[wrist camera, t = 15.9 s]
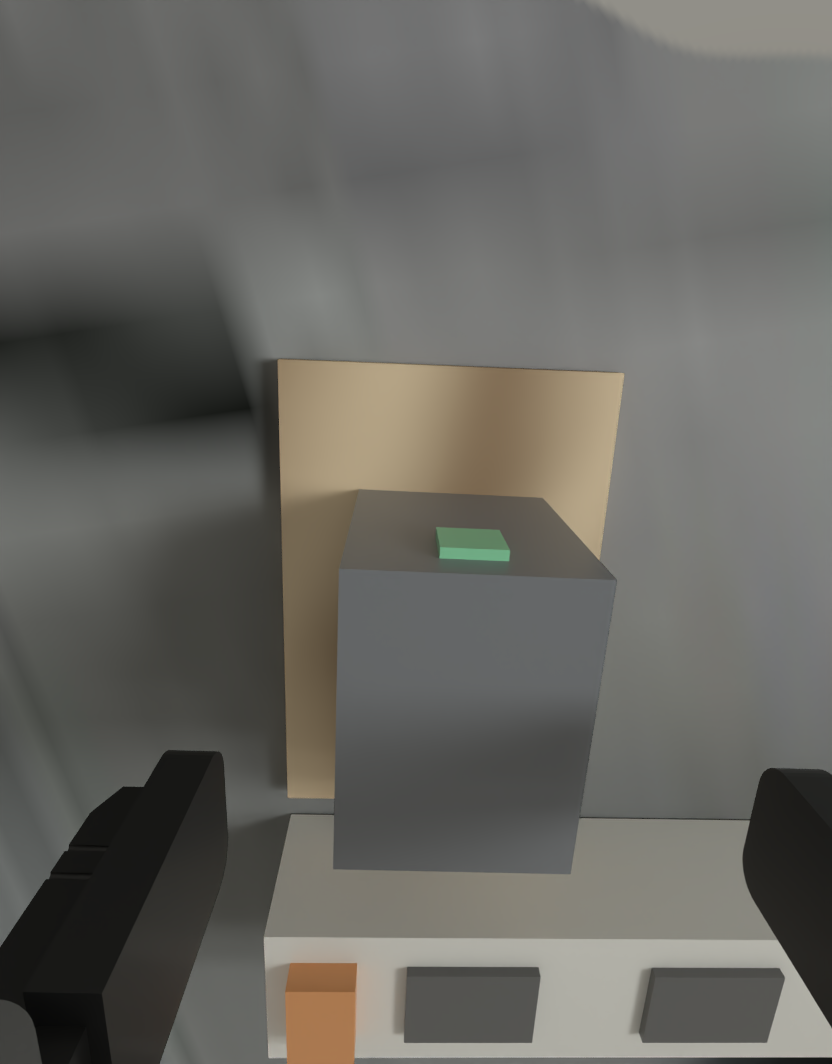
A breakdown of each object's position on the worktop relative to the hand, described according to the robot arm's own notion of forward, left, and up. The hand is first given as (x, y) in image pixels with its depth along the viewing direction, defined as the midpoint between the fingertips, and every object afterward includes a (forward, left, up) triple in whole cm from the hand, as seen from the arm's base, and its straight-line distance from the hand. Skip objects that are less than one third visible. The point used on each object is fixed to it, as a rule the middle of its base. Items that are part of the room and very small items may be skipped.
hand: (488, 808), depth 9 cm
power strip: (-10, +9, -8) cm, 15 cm away
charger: (0, 0, -7) cm, 7 cm away
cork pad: (0, 0, -8) cm, 8 cm away
